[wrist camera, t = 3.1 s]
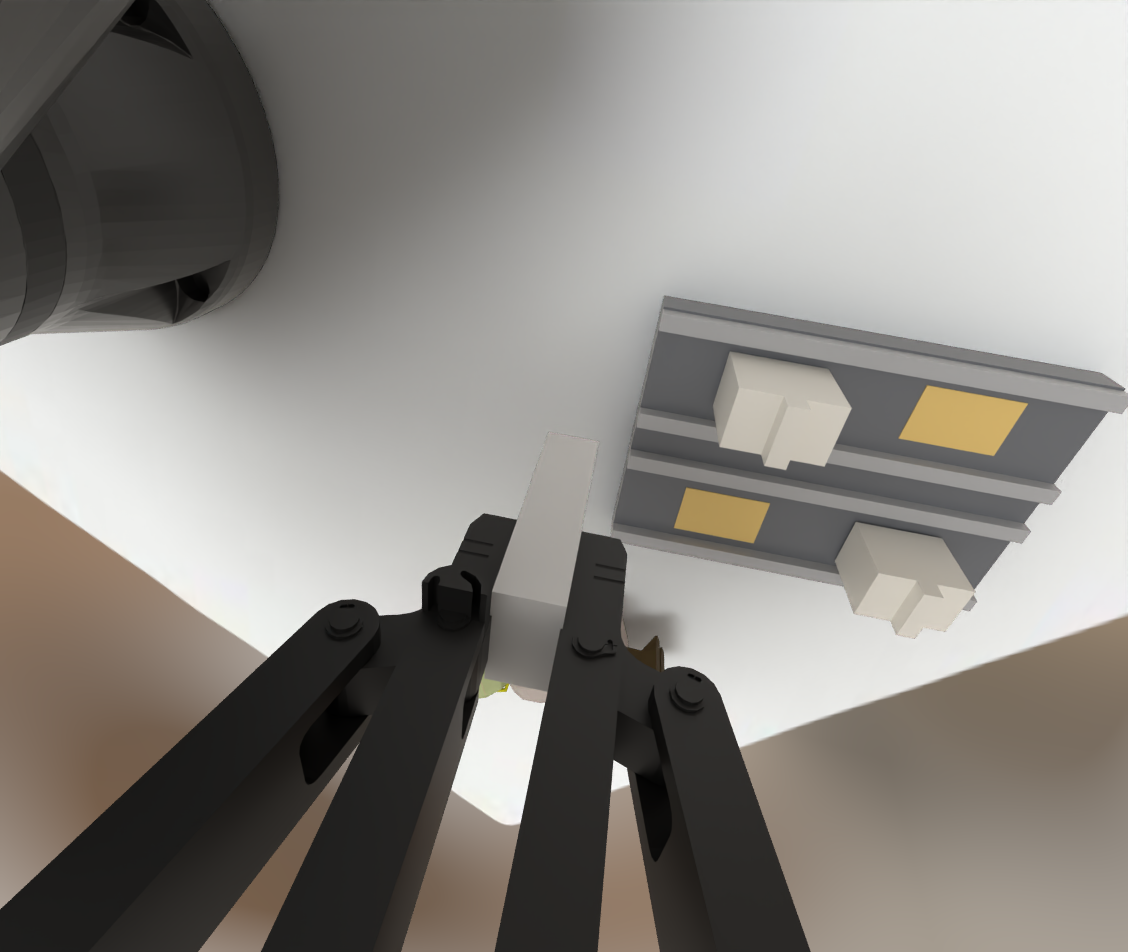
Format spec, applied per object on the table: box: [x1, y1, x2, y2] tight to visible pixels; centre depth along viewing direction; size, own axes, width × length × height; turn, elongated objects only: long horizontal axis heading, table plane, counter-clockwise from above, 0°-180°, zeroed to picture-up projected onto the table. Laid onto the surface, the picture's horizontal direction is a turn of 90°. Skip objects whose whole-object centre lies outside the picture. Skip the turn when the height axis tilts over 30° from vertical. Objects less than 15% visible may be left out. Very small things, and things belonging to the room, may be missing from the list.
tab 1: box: [713, 351, 852, 470], centre depth 22 cm, size 4×2×4 cm, turn 82°
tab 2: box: [835, 522, 975, 639], centre depth 26 cm, size 4×2×4 cm, turn 82°
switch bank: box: [611, 296, 1128, 611], centre depth 26 cm, size 18×12×2 cm, turn 82°
